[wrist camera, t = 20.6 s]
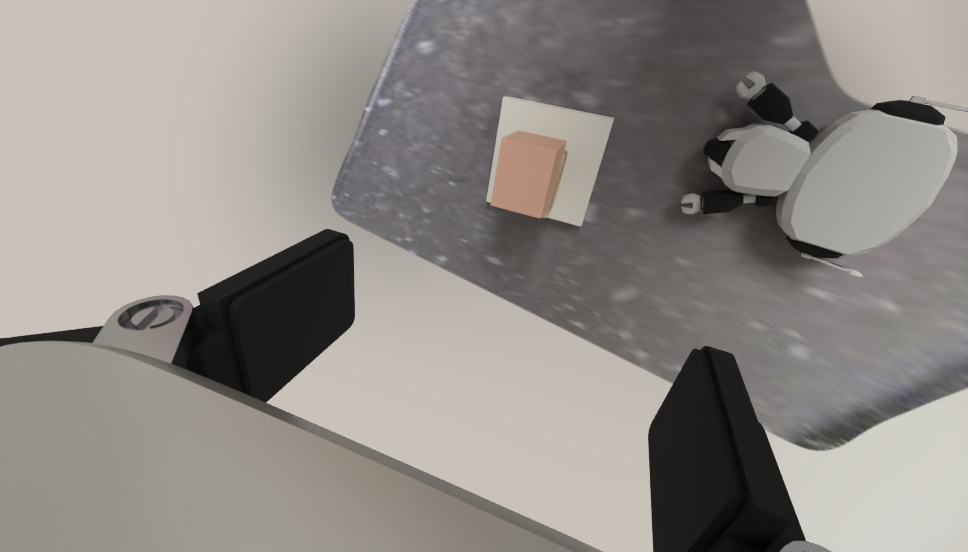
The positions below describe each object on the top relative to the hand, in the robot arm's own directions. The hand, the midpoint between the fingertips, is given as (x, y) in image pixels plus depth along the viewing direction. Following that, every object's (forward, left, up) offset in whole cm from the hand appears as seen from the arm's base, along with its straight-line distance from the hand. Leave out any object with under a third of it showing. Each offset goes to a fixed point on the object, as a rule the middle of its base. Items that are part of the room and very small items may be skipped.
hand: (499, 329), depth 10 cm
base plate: (+2, -4, -30) cm, 31 cm away
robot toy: (-2, +16, -31) cm, 35 cm away
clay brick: (+1, -4, -24) cm, 24 cm away
